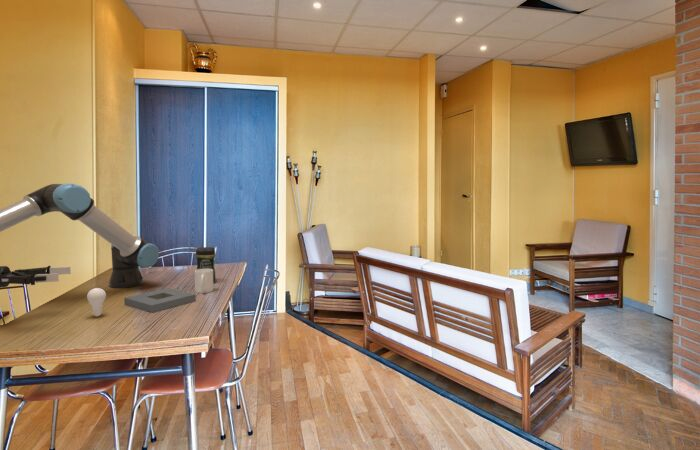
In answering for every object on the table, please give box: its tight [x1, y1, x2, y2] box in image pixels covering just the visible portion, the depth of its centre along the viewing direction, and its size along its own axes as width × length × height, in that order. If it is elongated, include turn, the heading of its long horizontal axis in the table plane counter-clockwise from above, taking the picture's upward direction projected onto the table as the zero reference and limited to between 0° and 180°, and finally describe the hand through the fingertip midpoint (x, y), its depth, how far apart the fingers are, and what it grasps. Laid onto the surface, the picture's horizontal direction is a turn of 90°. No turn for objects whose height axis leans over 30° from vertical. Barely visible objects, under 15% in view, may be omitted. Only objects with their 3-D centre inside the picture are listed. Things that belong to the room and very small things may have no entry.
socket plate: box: [123, 287, 197, 314], centre depth 173 cm, size 20×20×3 cm
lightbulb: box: [86, 287, 107, 318], centre depth 154 cm, size 6×6×11 cm
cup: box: [194, 268, 214, 294], centre depth 191 cm, size 8×12×10 cm
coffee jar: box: [195, 246, 217, 284], centre depth 210 cm, size 10×8×19 cm
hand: (64, 273), depth 150 cm, fingers open, 13 cm apart
